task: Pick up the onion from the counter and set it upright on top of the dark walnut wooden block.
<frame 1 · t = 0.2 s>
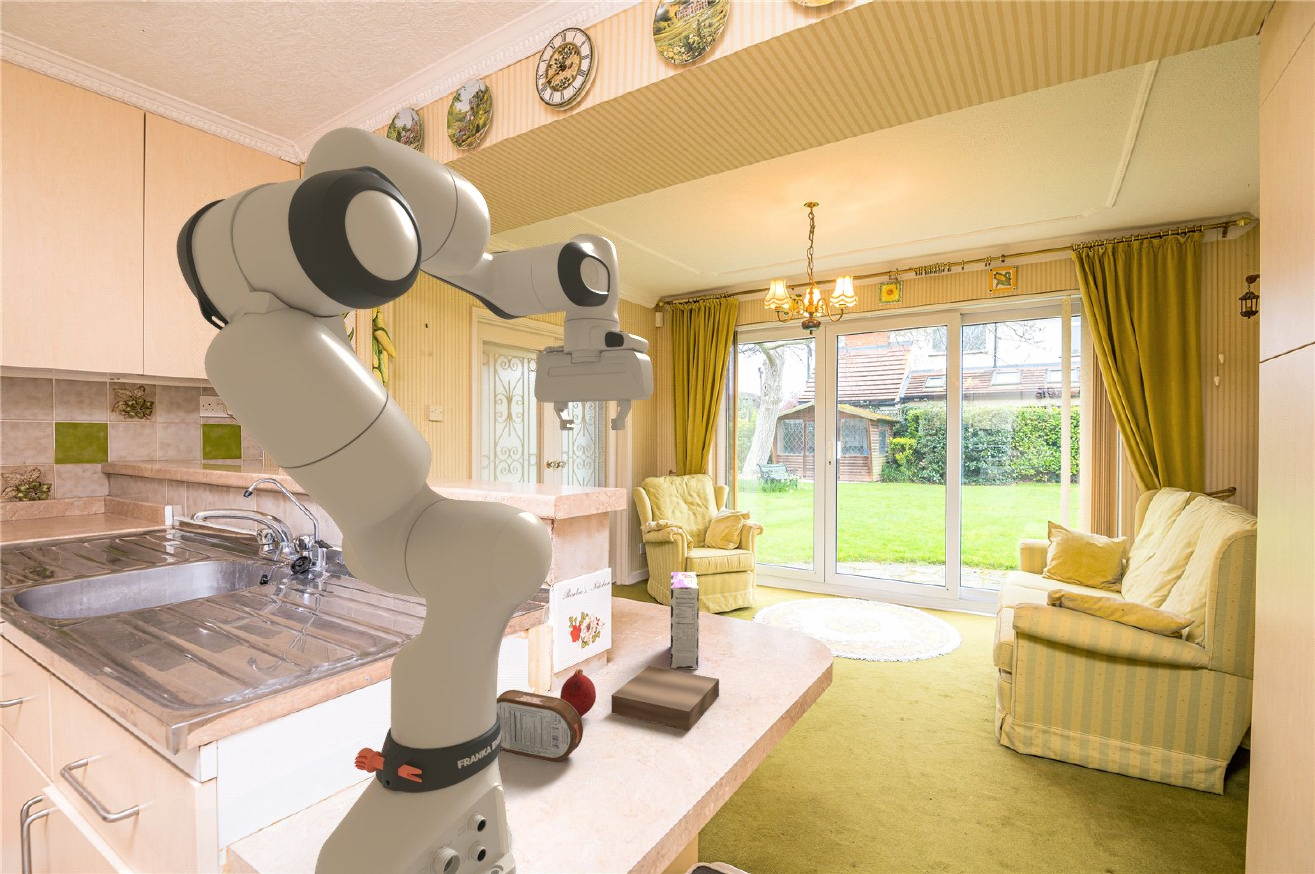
hand: (591, 430, 94), 47 cm above the table, tool pointing down, fingers open, 8 cm apart
candy box: (684, 657, 125), on the table
tin: (532, 755, 86), on the table
walnut block: (667, 703, 102), on the table
onion: (578, 719, 97), on the table
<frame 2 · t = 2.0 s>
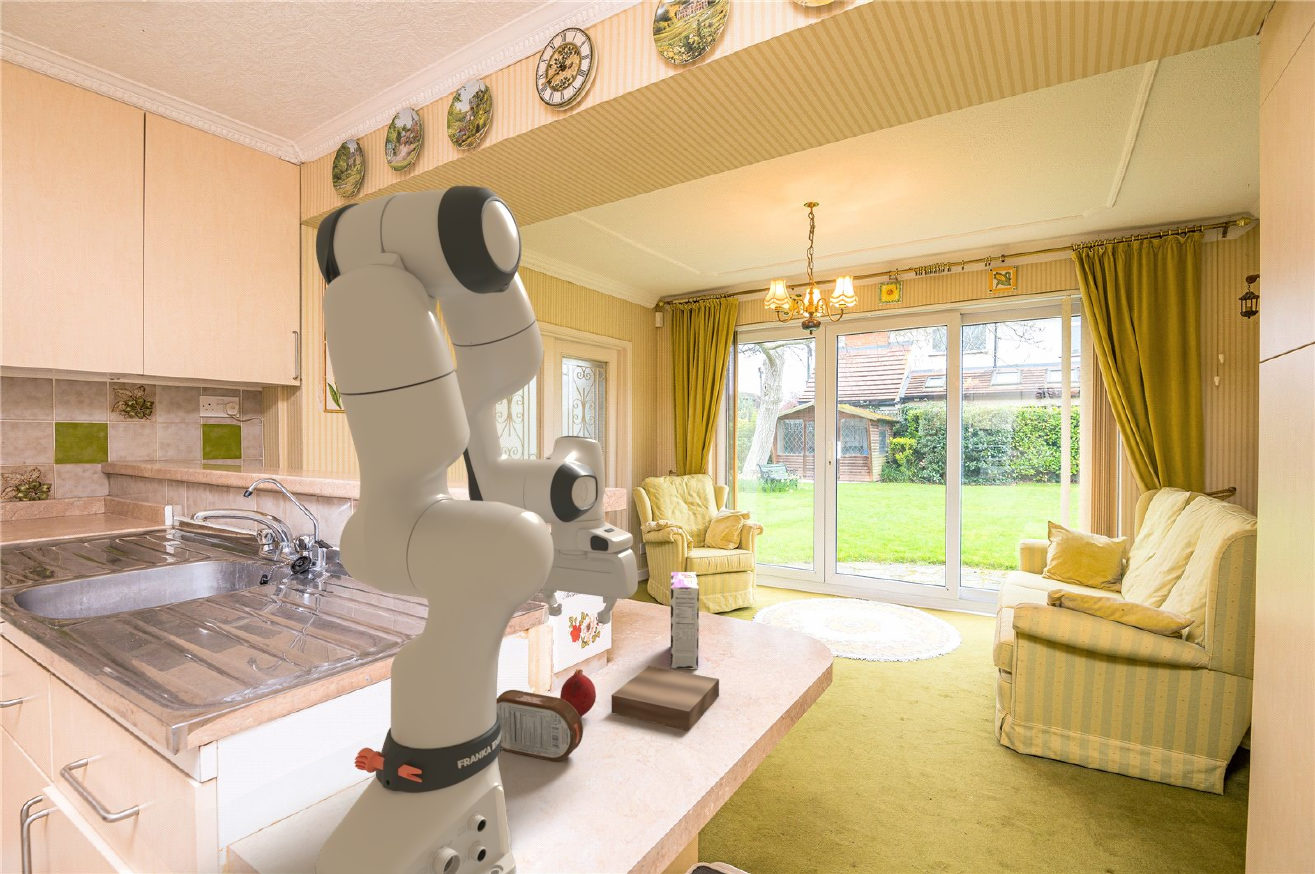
hand: (579, 618, 98), 16 cm above the table, tool pointing down, fingers open, 8 cm apart
nothing on the table moved.
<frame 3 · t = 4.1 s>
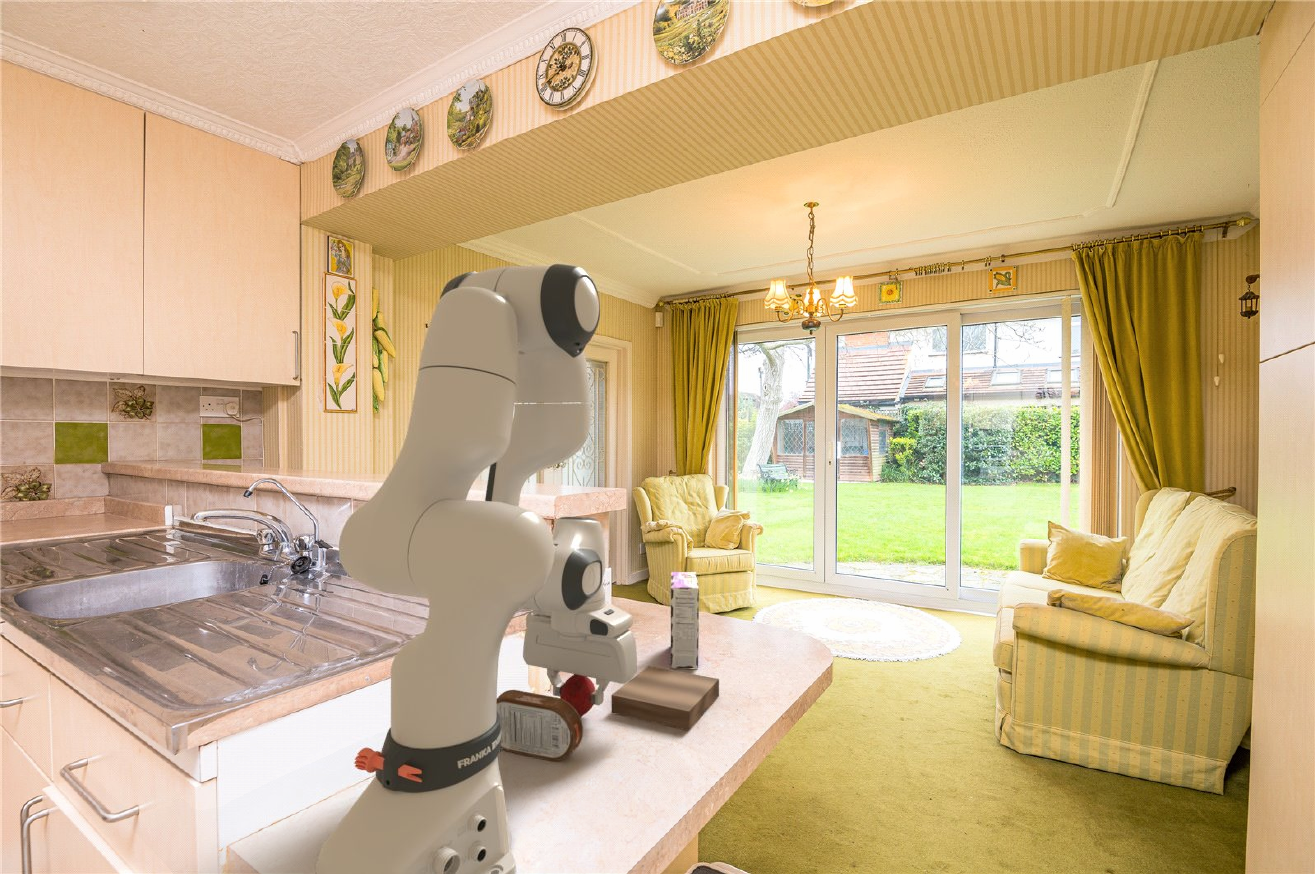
hand: (578, 699, 97), 3 cm above the table, tool pointing down, fingers closed on onion, 6 cm apart
onion: (578, 719, 97), on the table, touching gripper
everything else where it was.
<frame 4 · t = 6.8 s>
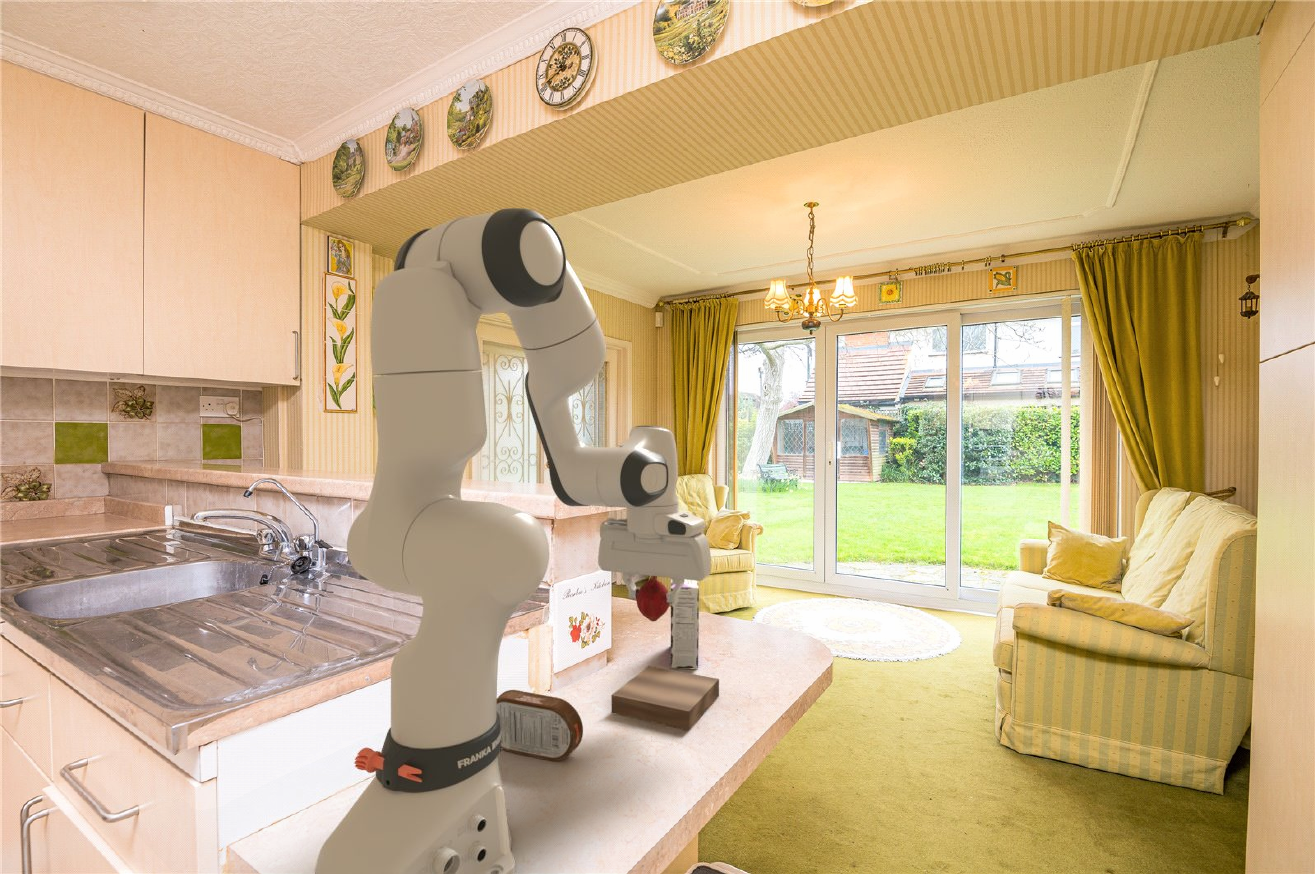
hand: (653, 600, 102), 18 cm above the table, tool pointing down, fingers closed on onion, 6 cm apart
onion: (653, 622, 102), point 14 cm above the table, touching gripper
everything else where it was.
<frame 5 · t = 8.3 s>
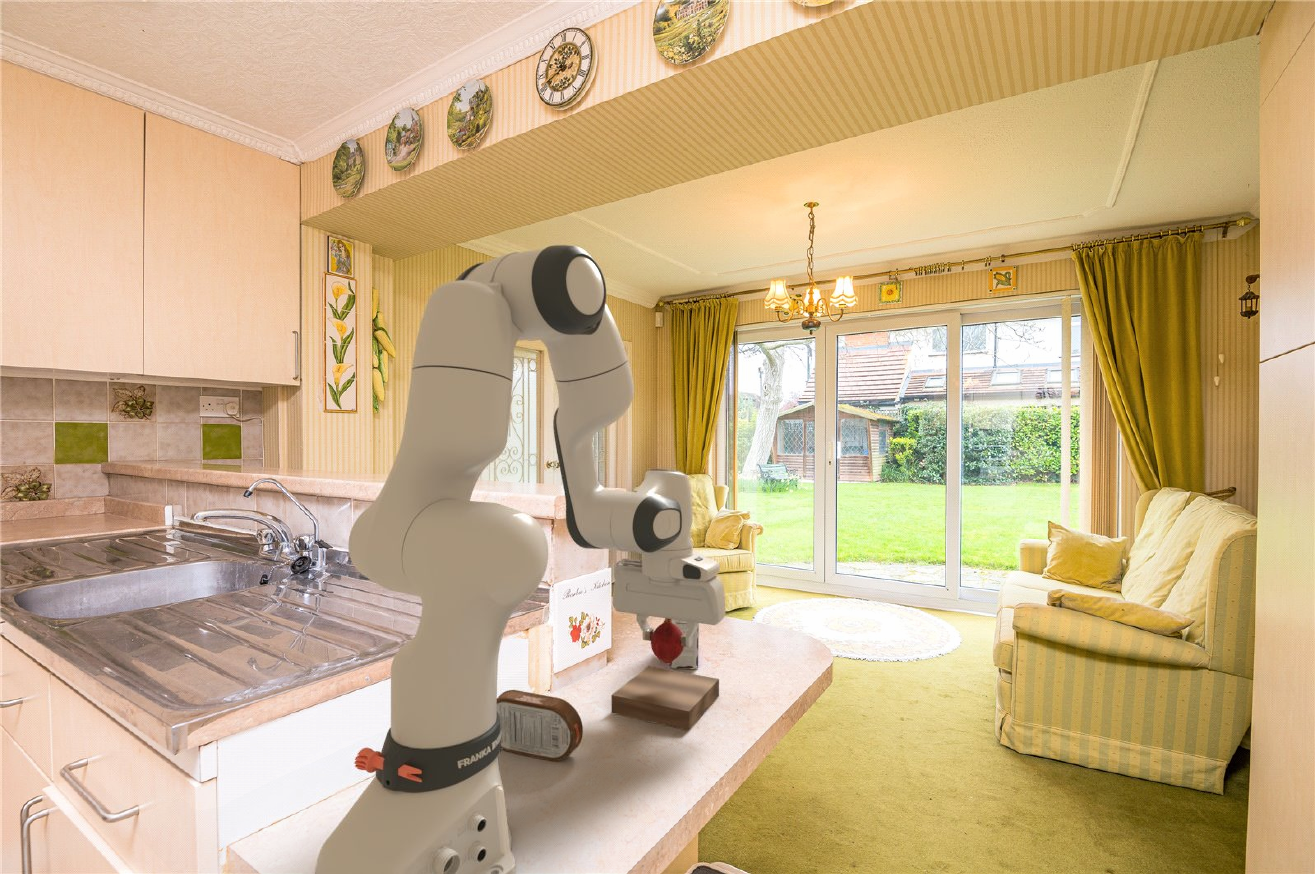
hand: (667, 642, 103), 11 cm above the table, tool pointing down, fingers closed on onion, 6 cm apart
onion: (667, 664, 103), point 7 cm above the table, touching gripper
everything else where it was.
when the fingers open (7 cm above the table, at t = 9.7 s): onion stays where it is, resting on walnut block.
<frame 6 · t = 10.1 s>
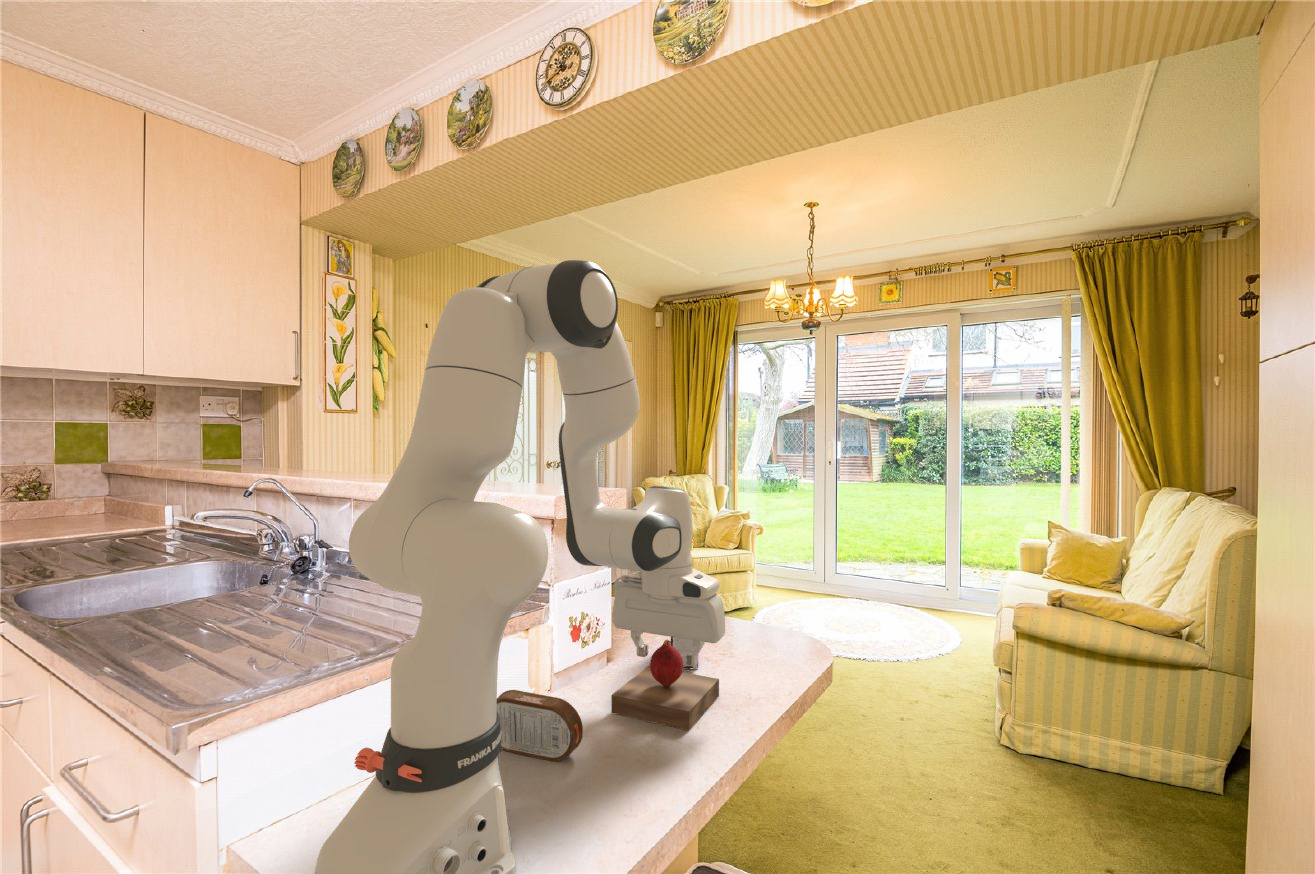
hand: (666, 660, 102), 8 cm above the table, tool pointing down, fingers open, 8 cm apart
onion: (666, 687, 102), point 3 cm above the table, touching walnut block
everything else where it was.
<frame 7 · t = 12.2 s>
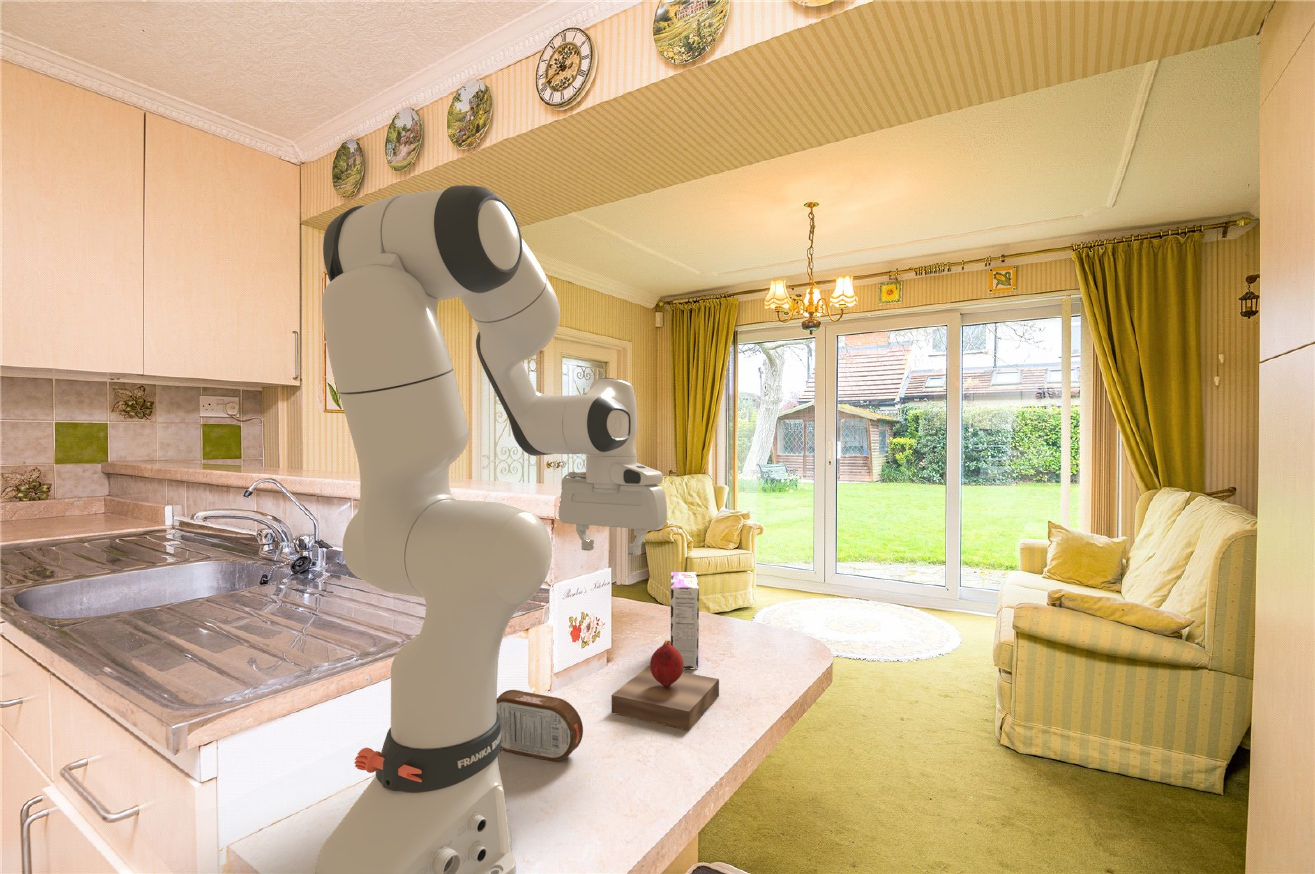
hand: (610, 552, 103), 26 cm above the table, tool pointing down, fingers open, 8 cm apart
nothing on the table moved.
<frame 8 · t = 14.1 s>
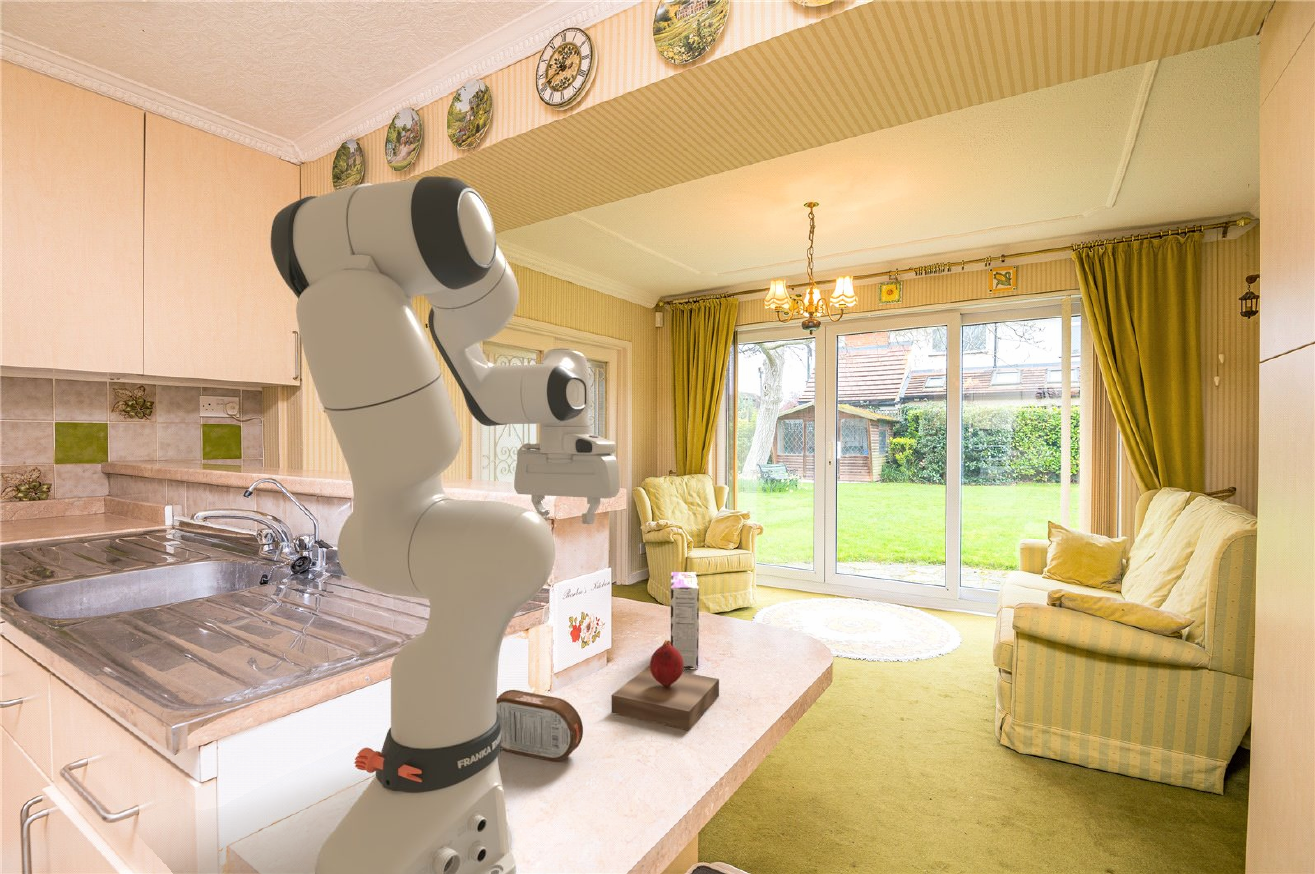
hand: (565, 522, 104), 31 cm above the table, tool pointing down, fingers open, 8 cm apart
nothing on the table moved.
at the end: onion inside the target area on the walnut block (0.1 cm from its centre), point 2.8 cm above the walnut block's base; onion touching walnut block; onion tilted 0° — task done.
